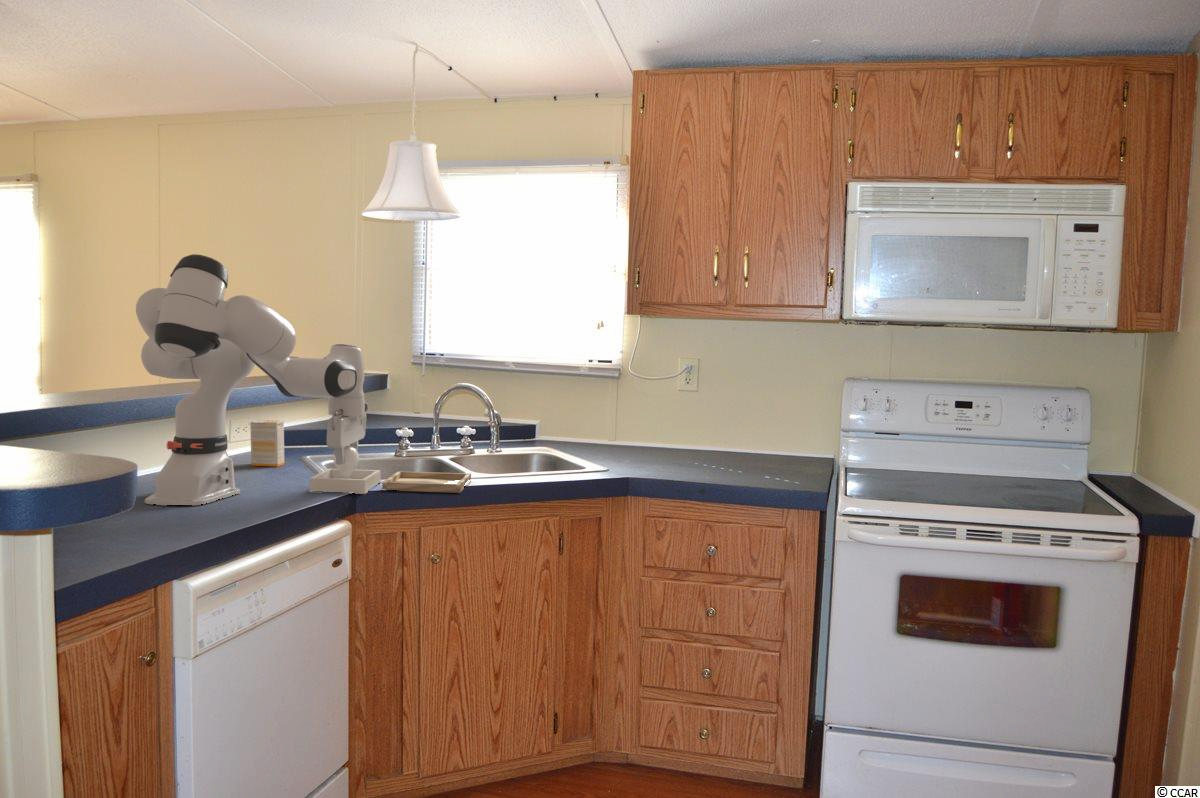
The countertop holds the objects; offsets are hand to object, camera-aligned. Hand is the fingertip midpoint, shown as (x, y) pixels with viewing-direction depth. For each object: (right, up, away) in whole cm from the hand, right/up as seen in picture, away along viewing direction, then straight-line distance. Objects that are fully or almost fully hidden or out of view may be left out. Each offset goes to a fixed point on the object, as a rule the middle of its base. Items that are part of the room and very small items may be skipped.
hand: (346, 461), depth 223 cm
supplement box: (-32, -4, +30) cm, 43 cm away
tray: (+20, -7, +6) cm, 22 cm away
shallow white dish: (0, -7, +1) cm, 7 cm away
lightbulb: (0, -7, +1) cm, 7 cm away
